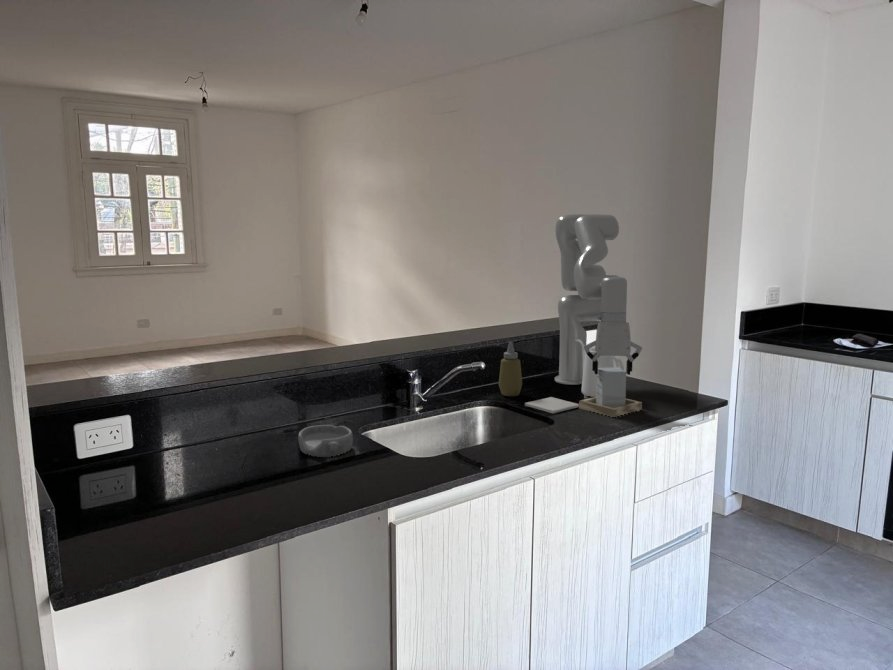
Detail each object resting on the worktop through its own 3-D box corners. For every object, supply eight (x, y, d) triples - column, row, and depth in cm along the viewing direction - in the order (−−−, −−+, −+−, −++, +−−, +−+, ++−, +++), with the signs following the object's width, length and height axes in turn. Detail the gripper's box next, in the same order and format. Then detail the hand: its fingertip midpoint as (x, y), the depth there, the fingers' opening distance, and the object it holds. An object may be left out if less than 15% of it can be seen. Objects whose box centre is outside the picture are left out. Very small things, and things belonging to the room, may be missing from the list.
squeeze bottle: (496, 396, 222) (496, 343, 219) (501, 391, 229) (501, 339, 227) (519, 398, 220) (520, 344, 217) (524, 392, 227) (525, 340, 224)
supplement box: (618, 406, 209) (619, 366, 207) (625, 412, 202) (627, 371, 200) (595, 406, 209) (596, 367, 207) (601, 413, 202) (602, 372, 200)
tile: (551, 399, 218) (551, 396, 218) (579, 406, 209) (579, 404, 209) (524, 405, 211) (524, 403, 211) (553, 413, 201) (553, 410, 201)
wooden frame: (606, 401, 215) (606, 394, 214) (641, 410, 204) (641, 402, 204) (578, 408, 207) (579, 400, 206) (614, 417, 196) (614, 409, 196)
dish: (342, 461, 162) (341, 441, 161) (289, 457, 165) (288, 438, 164) (361, 442, 176) (361, 424, 175) (312, 439, 179) (311, 421, 178)
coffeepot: (587, 384, 238) (588, 332, 235) (634, 400, 216) (636, 343, 213) (562, 388, 233) (563, 335, 230) (607, 404, 211) (609, 346, 208)
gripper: (585, 319, 198) (584, 375, 200) (645, 319, 196) (643, 376, 198) (583, 316, 206) (582, 371, 208) (640, 316, 203) (639, 371, 206)
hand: (612, 373), depth 203 cm, fingers open, 9 cm apart
